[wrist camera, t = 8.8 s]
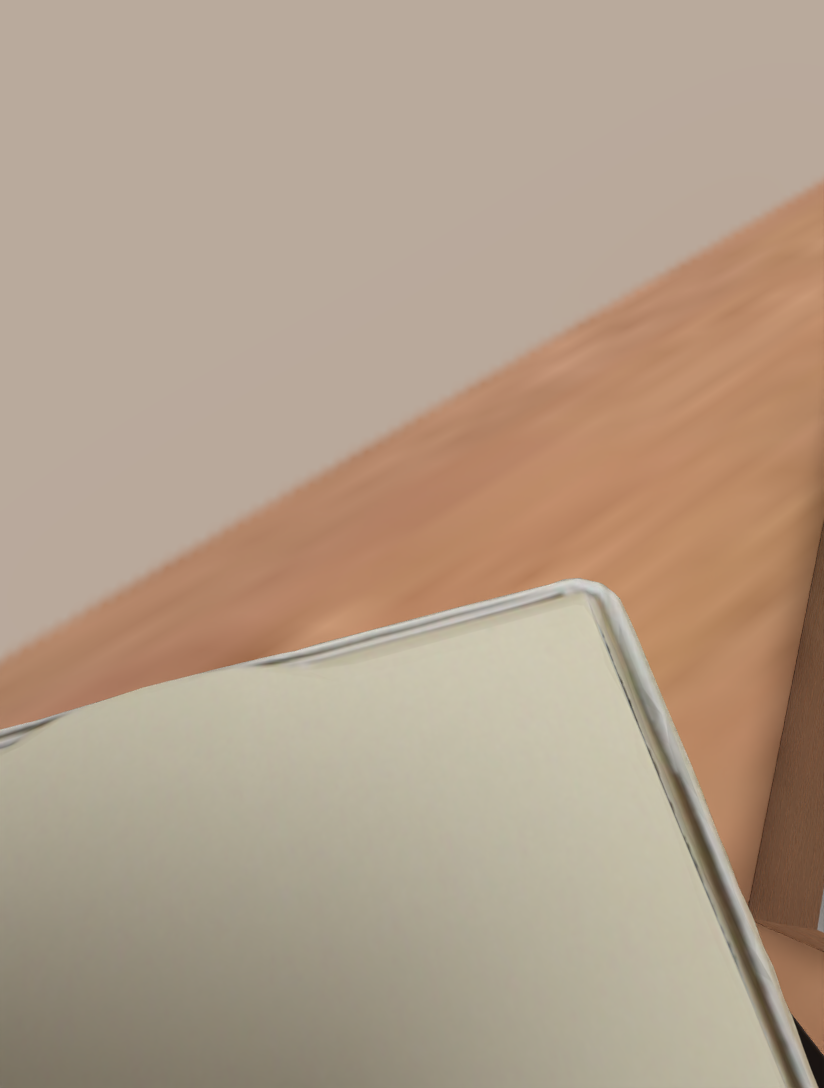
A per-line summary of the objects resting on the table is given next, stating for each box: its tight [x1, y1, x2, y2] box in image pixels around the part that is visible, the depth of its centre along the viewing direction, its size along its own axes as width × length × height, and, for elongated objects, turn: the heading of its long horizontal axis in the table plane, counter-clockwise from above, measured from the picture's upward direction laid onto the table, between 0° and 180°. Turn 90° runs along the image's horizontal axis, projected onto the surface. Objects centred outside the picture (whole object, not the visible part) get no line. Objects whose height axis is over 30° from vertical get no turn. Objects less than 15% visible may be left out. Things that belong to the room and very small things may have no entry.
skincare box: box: [0, 578, 818, 1088], centre depth 9 cm, size 6×4×12 cm
